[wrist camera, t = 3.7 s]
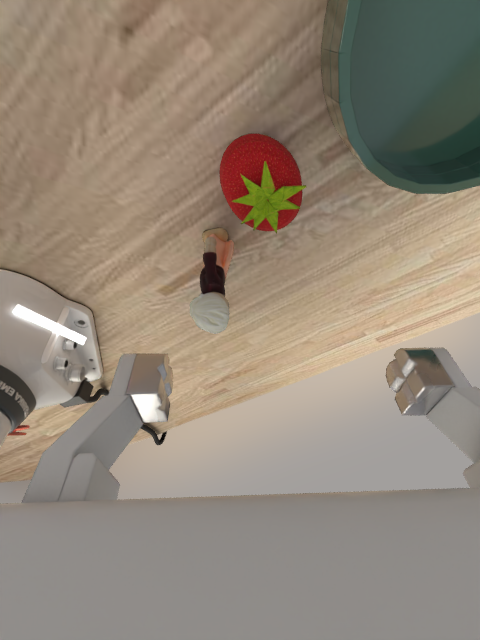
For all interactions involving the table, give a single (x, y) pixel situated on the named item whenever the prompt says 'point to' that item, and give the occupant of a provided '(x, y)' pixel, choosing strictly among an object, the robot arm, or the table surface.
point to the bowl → (406, 89)
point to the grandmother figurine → (213, 283)
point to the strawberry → (261, 182)
